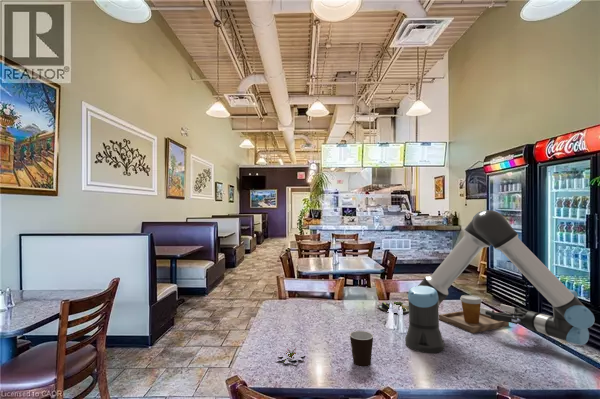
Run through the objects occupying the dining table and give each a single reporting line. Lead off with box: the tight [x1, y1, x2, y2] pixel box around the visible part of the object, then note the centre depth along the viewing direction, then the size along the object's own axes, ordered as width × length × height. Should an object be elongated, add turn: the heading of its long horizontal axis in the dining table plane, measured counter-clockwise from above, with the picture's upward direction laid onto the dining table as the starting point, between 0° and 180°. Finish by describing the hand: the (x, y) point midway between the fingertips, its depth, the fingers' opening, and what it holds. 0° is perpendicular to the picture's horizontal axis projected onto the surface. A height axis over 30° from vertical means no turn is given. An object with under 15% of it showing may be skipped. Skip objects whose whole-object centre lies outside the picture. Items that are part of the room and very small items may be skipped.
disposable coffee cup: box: [459, 294, 483, 324], centre depth 154 cm, size 10×10×12 cm
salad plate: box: [376, 300, 409, 315], centre depth 180 cm, size 19×18×5 cm
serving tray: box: [439, 310, 510, 334], centre depth 155 cm, size 24×20×2 cm
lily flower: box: [283, 347, 297, 363], centre depth 118 cm, size 12×12×5 cm
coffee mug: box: [349, 330, 374, 368], centre depth 116 cm, size 12×9×10 cm
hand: (491, 308), depth 147 cm, fingers open, 13 cm apart
